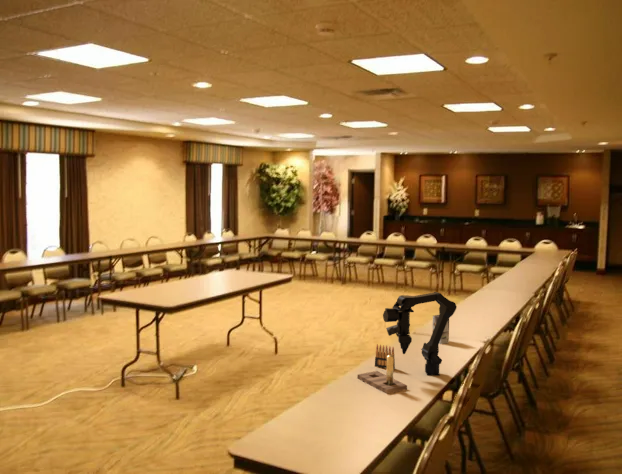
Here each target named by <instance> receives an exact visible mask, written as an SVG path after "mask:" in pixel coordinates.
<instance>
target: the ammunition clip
mask: <svg viewBox="0 0 622 474" xmlns="http://www.w3.org/2000/svg"><path fill="white" fill-rule="evenodd" d="M387 355H393V356H394V357H395V347H394V346H392V347H391V346H390V345H389V347H388V345H386V346H385V345H381V344H380V345H378V344H376V349H375V358H374V367H378V368H382V369H387ZM395 364H396V363H395V358H394V361H393V370H395V367H396V365H395Z"/></svg>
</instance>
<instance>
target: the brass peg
mask: <svg viewBox="0 0 622 474" xmlns="http://www.w3.org/2000/svg"><path fill="white" fill-rule="evenodd" d="M394 359H395V355H394V356H393V355H387V368H386V374H385V375H386V385H387V386H392V385H393V379H394V369H393V361H394Z"/></svg>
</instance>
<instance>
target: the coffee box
mask: <svg viewBox="0 0 622 474" xmlns="http://www.w3.org/2000/svg"><path fill="white" fill-rule="evenodd" d="M438 318H439V314H435V315H432V332H433V331H434V328H435V325H436V323H437V320H438ZM449 339H450V318H449V319H448V321H447V324H446V327H445V329H444V332H443V334H442V337H441V339H440V342H439V344H440V345H441V344H442V345H443V344H449Z"/></svg>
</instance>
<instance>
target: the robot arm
mask: <svg viewBox="0 0 622 474" xmlns="http://www.w3.org/2000/svg"><path fill="white" fill-rule="evenodd" d="M396 299H397V300H396V301H395V302H394V304H393V306H392V307H391V308H389V307H386V308H385V309H384V311H383V314H382V318H383V321H384V322H385V323H391V322H392V323H394V322H396V324H395V325H391V326H388V327H386V332H387V335H388V336H392V335H396V337H397V339H398V343H399V345H400V349H401V352H402V354H403V355H405V354H406V353H407V352H408V351H407V350H408V348H409V346H410V345H411V343H413V342H412V336H411V335H410V334H411V333H410V332H411V331H410V327H411V324H410V322H411V321H410V317H411V313H414V312H415V310H413V309H412V308H413V307H415V306H416V305H420V304H421V305H422V304H425V303H430V302H431V303H433V302H436V304H438V306H439V308H438V311H439V313H438V315H439V318H438V320H437V323H436V325H435V328H434V331H433V330H432V333H431V336H430V339H429V341H427V342H424V343H423V345H422V348H420V350H421V354H422V357H423V358H424V361H426V363H425V364H424V372H425V374H426V376H441V374H440V365H441V364H442V361H443V360H442V358H441V357H440V356H439V352H440V349H439V344H440V343H439V342H440V339H441V337H442V334H443V332H444V329H445V327H446V324H447V321H448V319H449V320H450V318H451V317H452V316H453V315H454V314H455V312H456V310H457V304H456V302H454V301H452V300H450V299H448V298H447V297H445V296H444V295H443V294H442V293H440V292H438V291H434V292H430V293H425V294H424V293H423V294H419V295H408V294H407V295H405V294H403V295H399V296H398V297H397V298H396Z"/></svg>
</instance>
